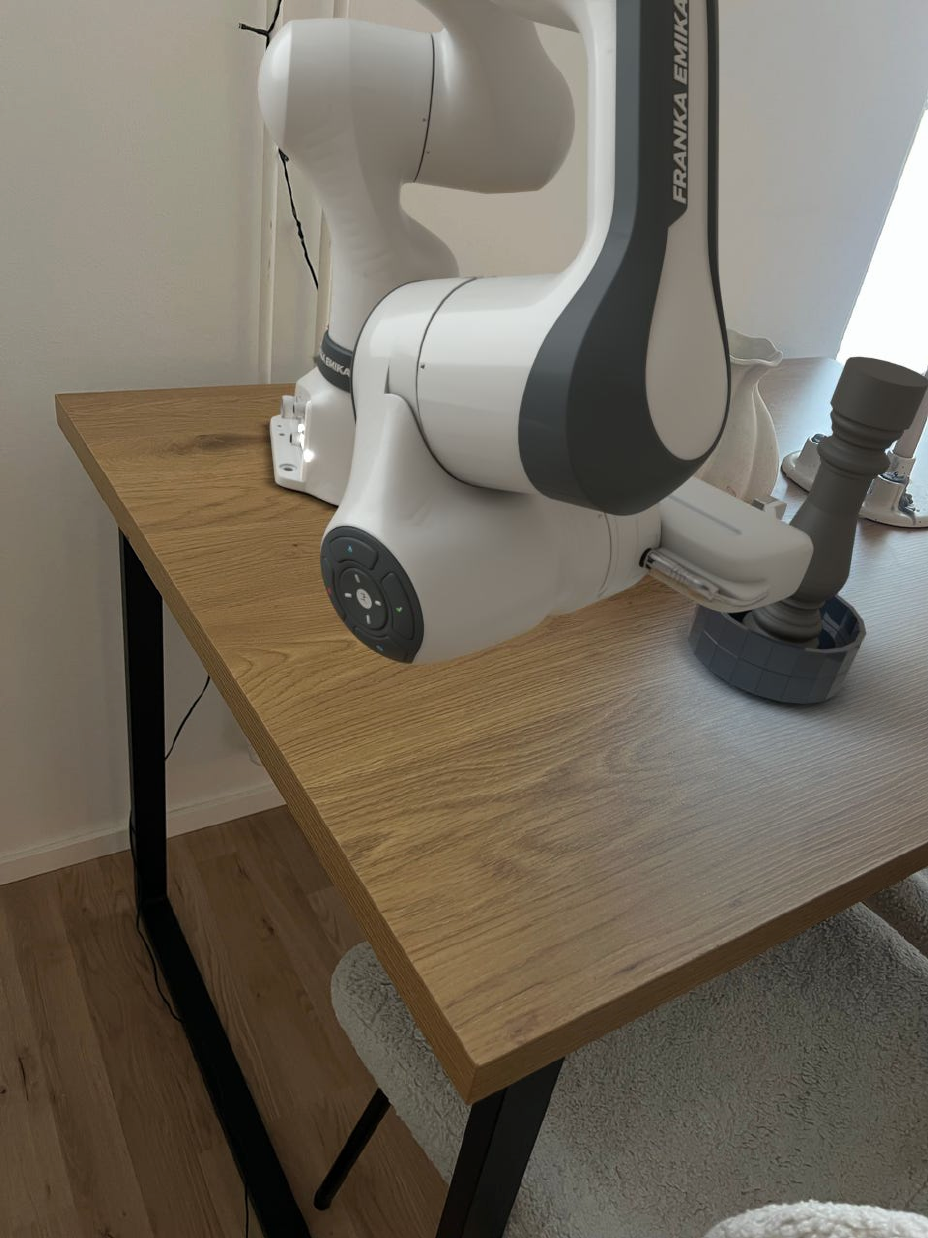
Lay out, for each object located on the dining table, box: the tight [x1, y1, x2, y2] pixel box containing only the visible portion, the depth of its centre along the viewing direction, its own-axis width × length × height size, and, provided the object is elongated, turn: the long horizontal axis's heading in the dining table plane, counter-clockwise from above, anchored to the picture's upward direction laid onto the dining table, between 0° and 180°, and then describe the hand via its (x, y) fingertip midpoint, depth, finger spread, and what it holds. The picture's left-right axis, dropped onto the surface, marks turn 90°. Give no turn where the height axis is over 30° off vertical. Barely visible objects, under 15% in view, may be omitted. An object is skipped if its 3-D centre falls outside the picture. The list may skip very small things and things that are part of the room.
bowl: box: [687, 593, 867, 705], centre depth 83 cm, size 13×13×6 cm
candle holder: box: [741, 356, 928, 649], centre depth 76 cm, size 6×6×25 cm
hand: (711, 478), depth 66 cm, fingers open, 8 cm apart
